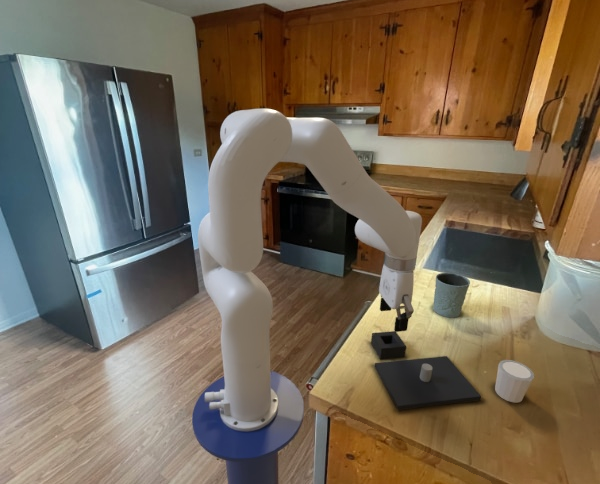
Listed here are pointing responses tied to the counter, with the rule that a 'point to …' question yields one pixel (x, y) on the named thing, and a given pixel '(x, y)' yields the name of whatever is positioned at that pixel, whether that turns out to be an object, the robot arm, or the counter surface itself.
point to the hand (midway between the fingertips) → (392, 320)
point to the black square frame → (388, 345)
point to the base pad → (425, 382)
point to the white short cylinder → (513, 380)
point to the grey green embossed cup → (450, 294)
